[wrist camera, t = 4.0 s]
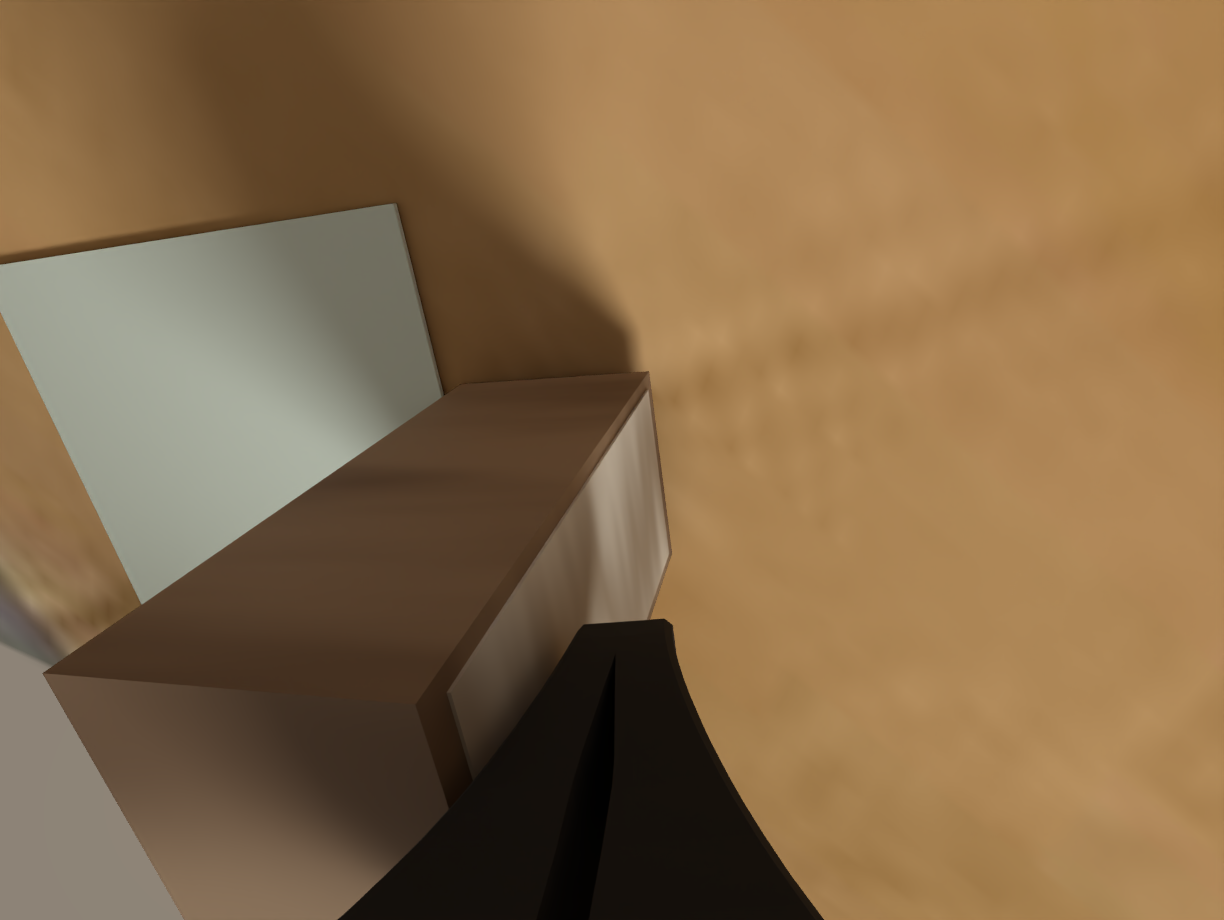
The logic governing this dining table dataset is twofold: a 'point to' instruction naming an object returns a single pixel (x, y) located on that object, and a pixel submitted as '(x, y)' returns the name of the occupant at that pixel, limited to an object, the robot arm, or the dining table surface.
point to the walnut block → (371, 643)
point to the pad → (221, 372)
